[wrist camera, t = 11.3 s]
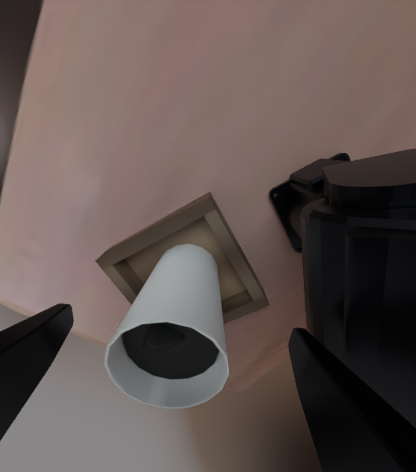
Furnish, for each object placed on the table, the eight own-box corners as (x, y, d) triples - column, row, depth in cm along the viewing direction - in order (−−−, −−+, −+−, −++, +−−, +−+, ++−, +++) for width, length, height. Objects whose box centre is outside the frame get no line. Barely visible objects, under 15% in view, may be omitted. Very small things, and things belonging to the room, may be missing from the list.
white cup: (142, 283, 22) (88, 385, 12) (169, 227, 19) (128, 298, 10) (203, 309, 23) (195, 422, 13) (235, 258, 20) (253, 350, 11)
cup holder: (262, 287, 22) (268, 304, 20) (171, 327, 24) (166, 347, 22) (209, 191, 19) (209, 198, 16) (109, 248, 21) (95, 260, 19)
